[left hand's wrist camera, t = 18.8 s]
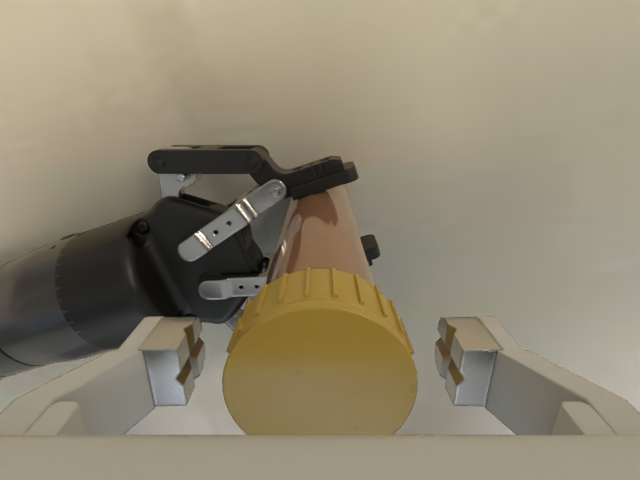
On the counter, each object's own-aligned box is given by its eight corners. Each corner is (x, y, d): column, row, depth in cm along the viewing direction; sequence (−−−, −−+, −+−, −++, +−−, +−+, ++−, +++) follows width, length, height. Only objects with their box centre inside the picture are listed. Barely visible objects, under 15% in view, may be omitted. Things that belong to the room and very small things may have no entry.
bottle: (282, 201, 27) (215, 375, 10) (315, 158, 26) (305, 269, 9) (324, 233, 28) (331, 442, 11) (358, 192, 26) (427, 354, 9)
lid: (415, 386, 11) (435, 444, 9) (266, 416, 12) (256, 477, 10) (385, 246, 9) (401, 282, 8) (212, 288, 10) (186, 332, 8)
